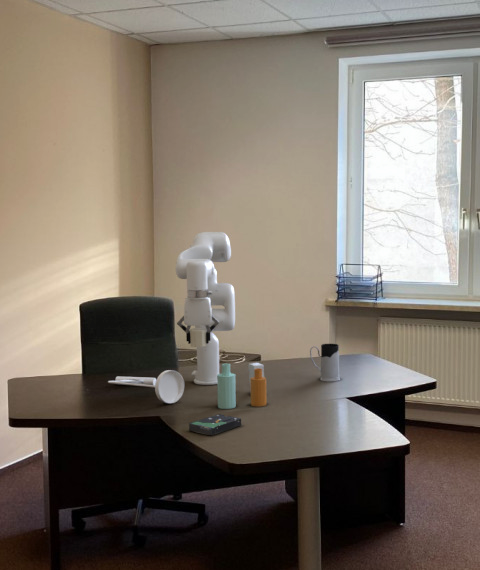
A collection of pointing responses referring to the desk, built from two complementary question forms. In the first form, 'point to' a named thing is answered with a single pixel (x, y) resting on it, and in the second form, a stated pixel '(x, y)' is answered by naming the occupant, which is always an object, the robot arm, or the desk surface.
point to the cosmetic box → (251, 370)
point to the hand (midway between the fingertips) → (198, 342)
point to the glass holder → (328, 362)
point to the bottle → (226, 388)
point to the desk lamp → (158, 385)
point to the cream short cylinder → (198, 337)
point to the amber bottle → (258, 388)
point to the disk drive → (214, 424)
